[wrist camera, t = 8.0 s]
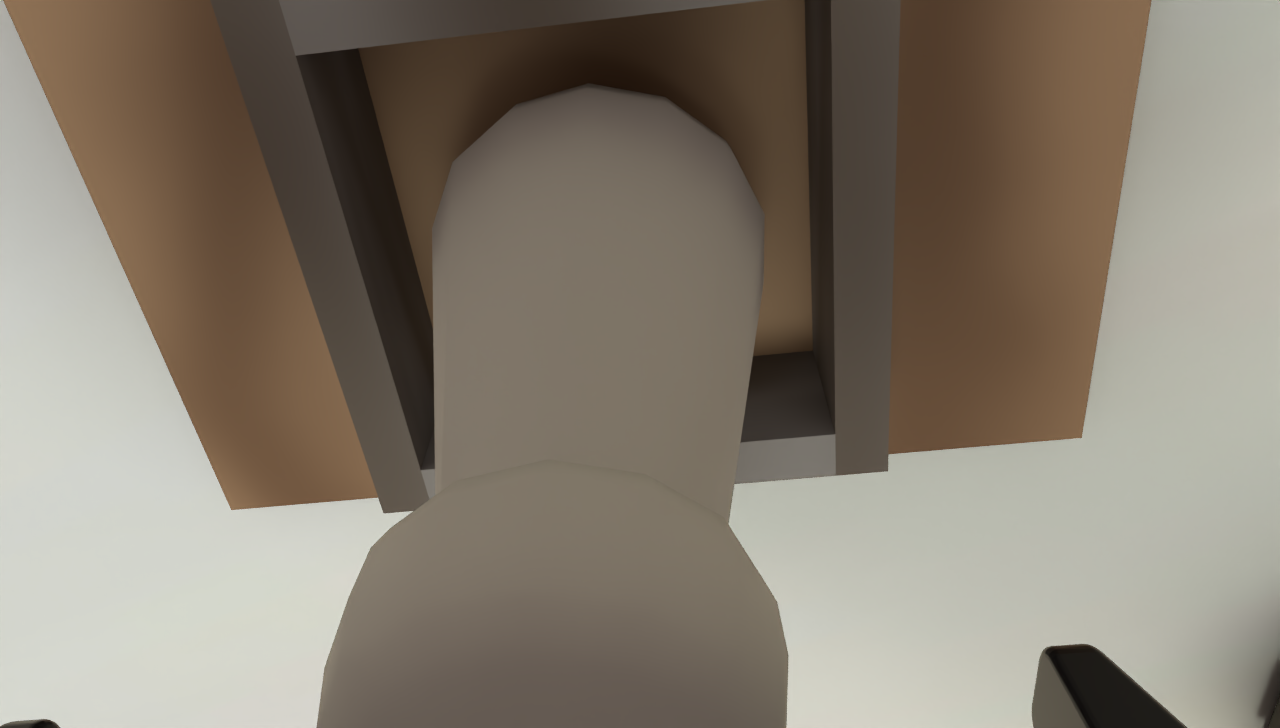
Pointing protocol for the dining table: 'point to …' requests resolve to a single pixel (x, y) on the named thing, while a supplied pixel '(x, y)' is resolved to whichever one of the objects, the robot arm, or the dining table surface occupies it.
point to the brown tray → (630, 60)
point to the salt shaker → (578, 443)
